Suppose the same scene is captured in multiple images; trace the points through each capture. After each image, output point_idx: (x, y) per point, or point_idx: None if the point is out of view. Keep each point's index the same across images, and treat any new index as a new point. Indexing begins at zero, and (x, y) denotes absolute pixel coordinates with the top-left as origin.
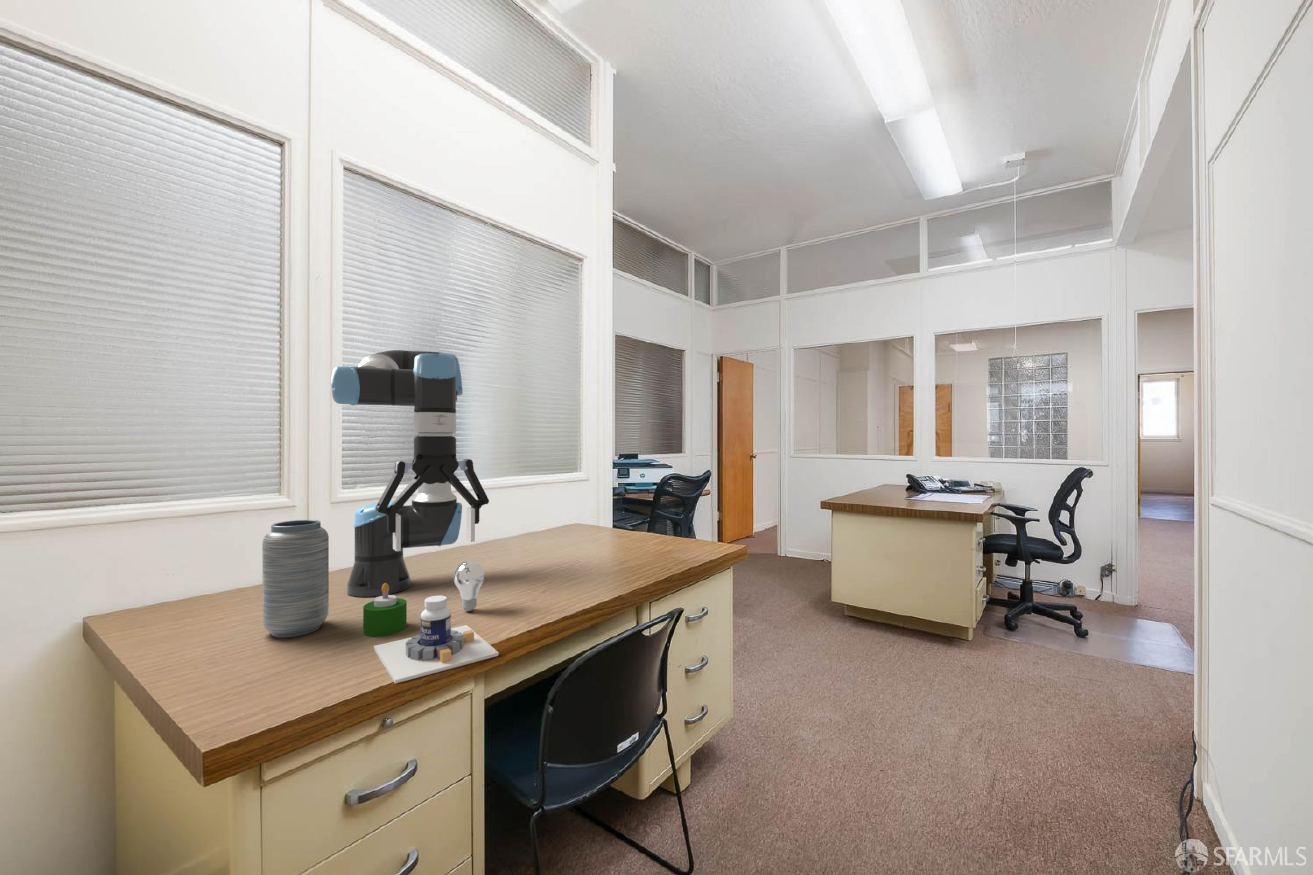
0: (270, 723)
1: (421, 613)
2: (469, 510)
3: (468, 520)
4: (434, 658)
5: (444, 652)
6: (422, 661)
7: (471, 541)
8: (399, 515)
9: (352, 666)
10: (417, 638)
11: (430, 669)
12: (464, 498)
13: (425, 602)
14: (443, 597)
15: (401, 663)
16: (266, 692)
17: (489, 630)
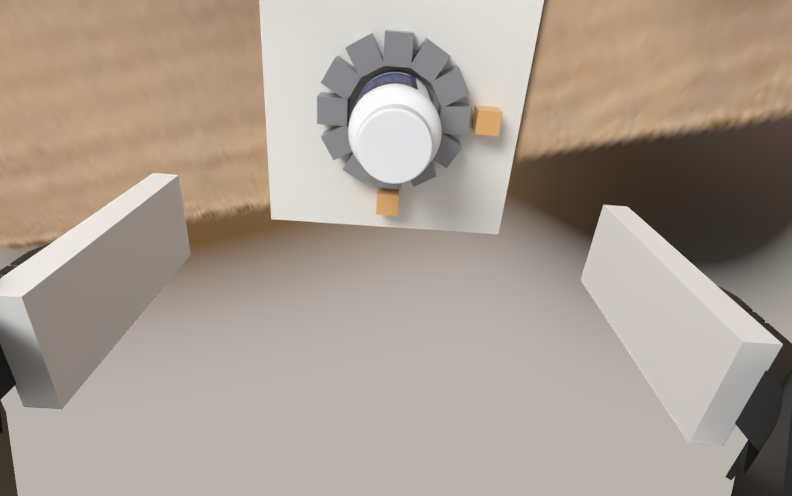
0: (62, 223)
1: (351, 122)
2: (694, 399)
3: (655, 315)
4: None
5: (381, 212)
6: (343, 165)
7: (583, 282)
8: (51, 402)
9: (197, 50)
10: (357, 67)
11: (345, 218)
12: (775, 453)
13: (356, 149)
14: (421, 151)
15: (300, 142)
16: (17, 70)
17: (580, 54)
